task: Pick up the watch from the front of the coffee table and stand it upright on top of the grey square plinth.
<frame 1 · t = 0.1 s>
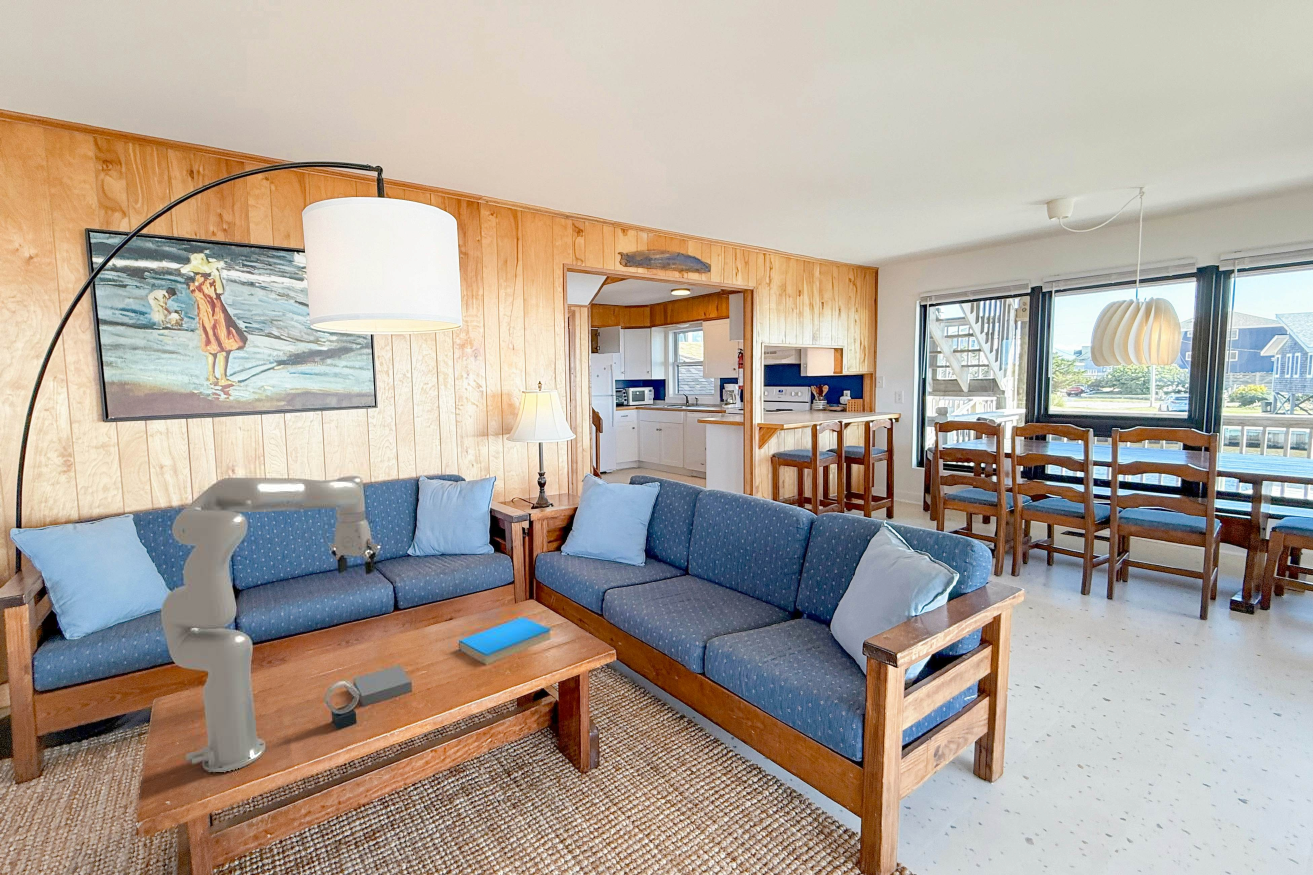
hand: (356, 572, 190), 31 cm above the table, tool pointing down, fingers open, 9 cm apart
plinth: (382, 689, 181), on the table
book: (506, 645, 209), on the table
watch: (344, 723, 164), on the table
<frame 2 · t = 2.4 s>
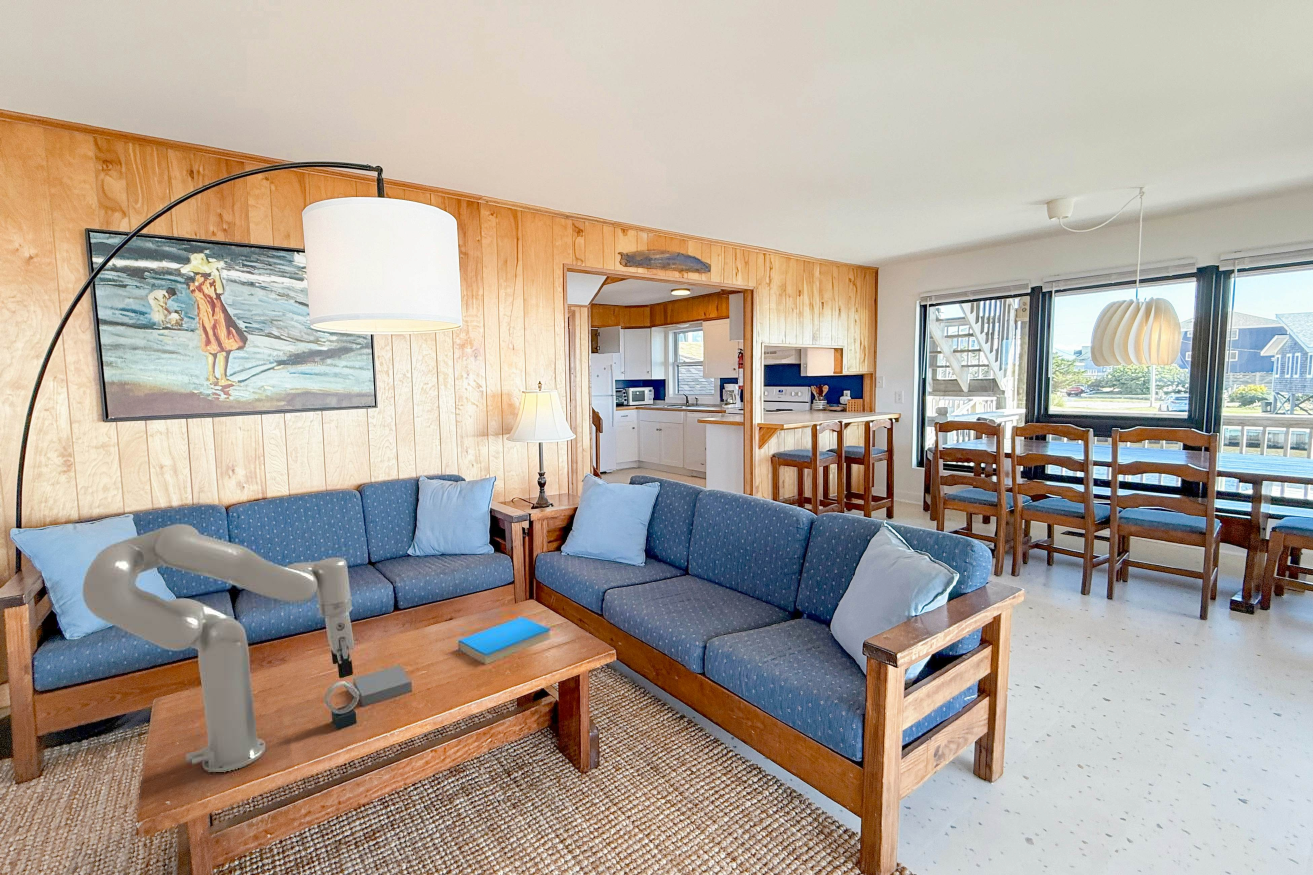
hand: (342, 669, 163), 14 cm above the table, tool pointing down, fingers open, 9 cm apart
nothing on the table moved.
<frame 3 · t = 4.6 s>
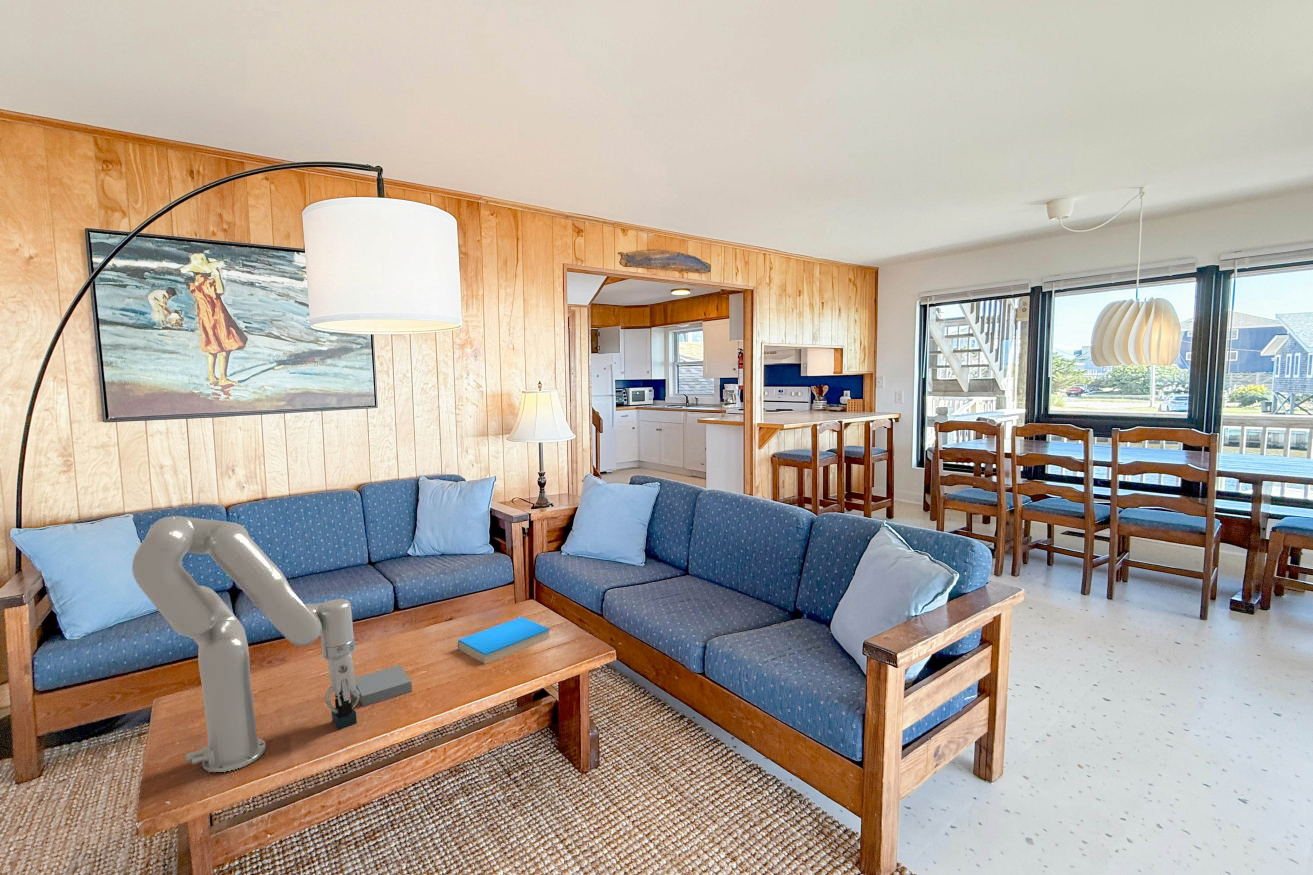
hand: (344, 714, 164), 2 cm above the table, tool pointing down, fingers closed on watch, 3 cm apart
watch: (345, 722, 164), on the table, touching gripper
everything else where it was.
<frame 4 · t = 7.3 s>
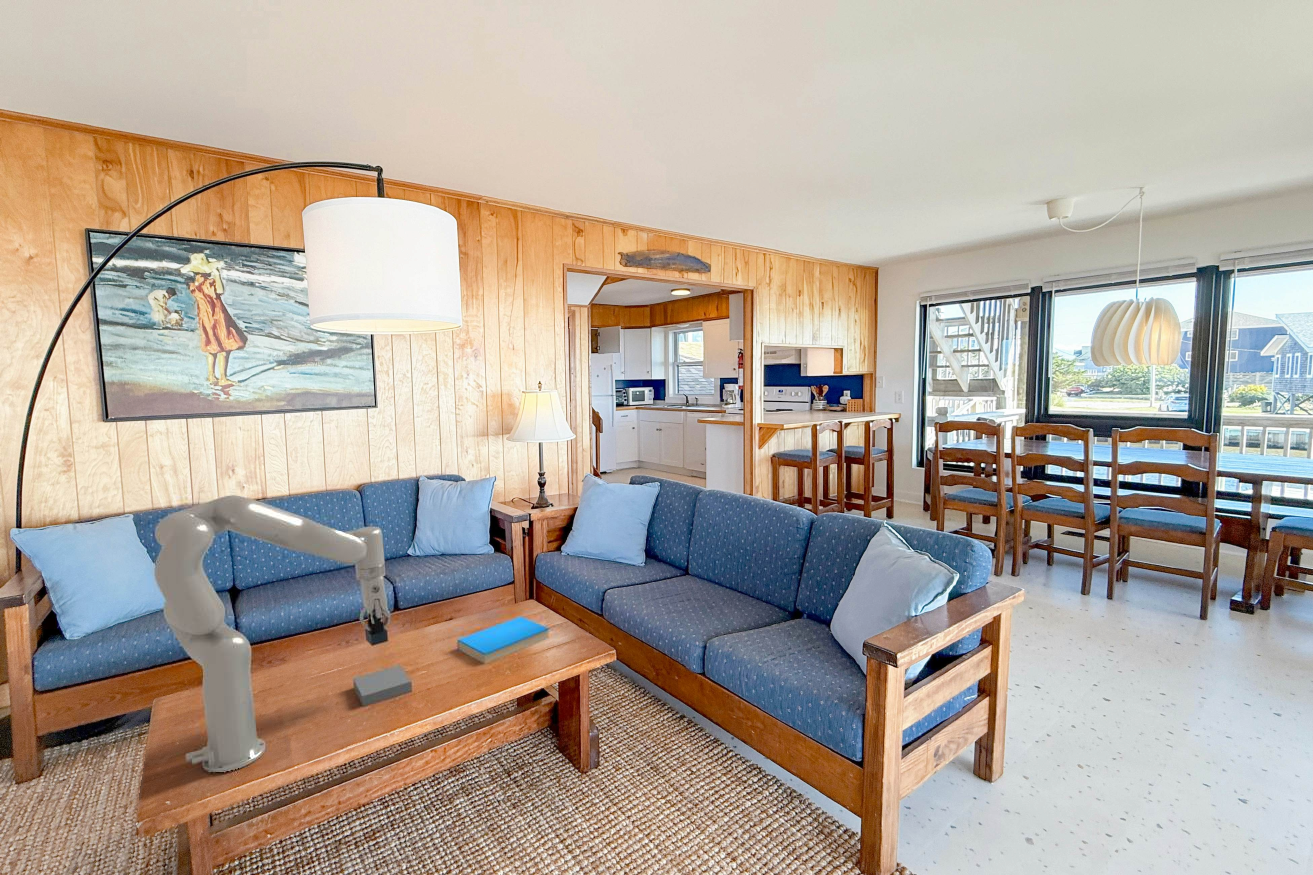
hand: (376, 632, 178), 18 cm above the table, tool pointing down, fingers closed on watch, 3 cm apart
watch: (377, 640, 178), point 15 cm above the table, touching gripper
everything else where it was.
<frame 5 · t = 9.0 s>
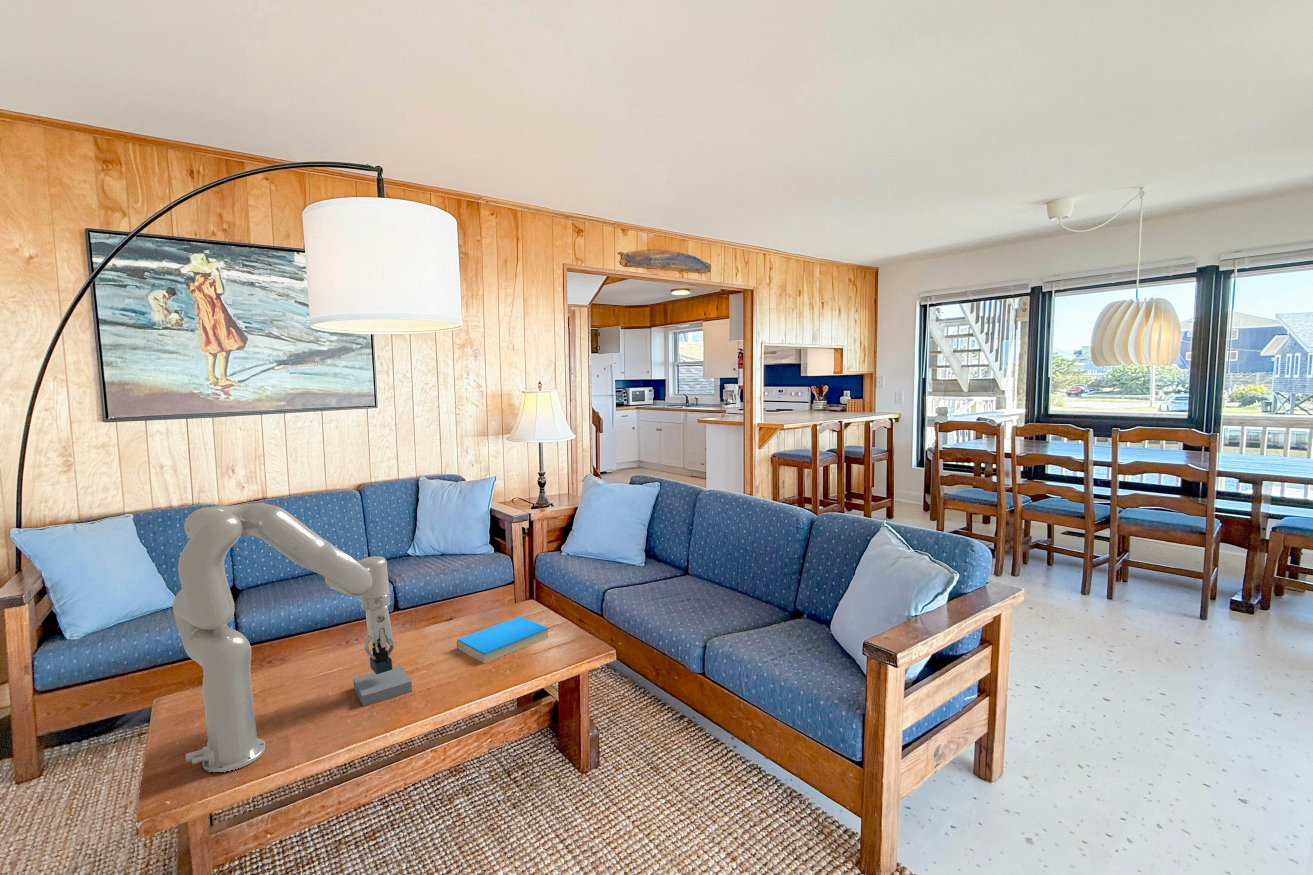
hand: (380, 661, 180), 9 cm above the table, tool pointing down, fingers closed on watch, 3 cm apart
watch: (381, 669, 180), point 6 cm above the table, touching gripper
when the fingers open (7 cm above the table, at t = 10.1 s): watch drops 1 cm, resting on plinth.
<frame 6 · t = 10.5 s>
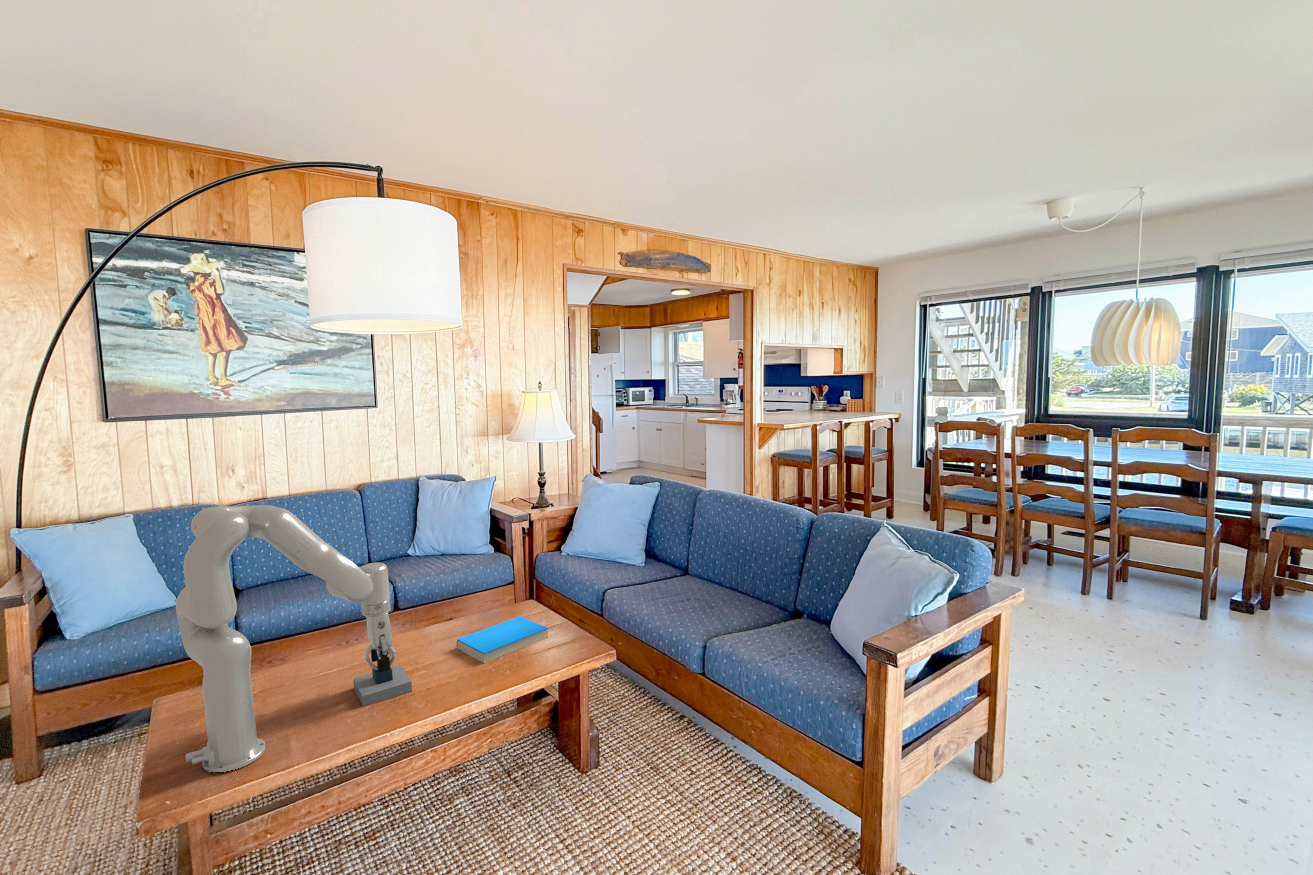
hand: (380, 665, 180), 7 cm above the table, tool pointing down, fingers open, 7 cm apart
watch: (383, 679, 181), point 3 cm above the table, touching plinth
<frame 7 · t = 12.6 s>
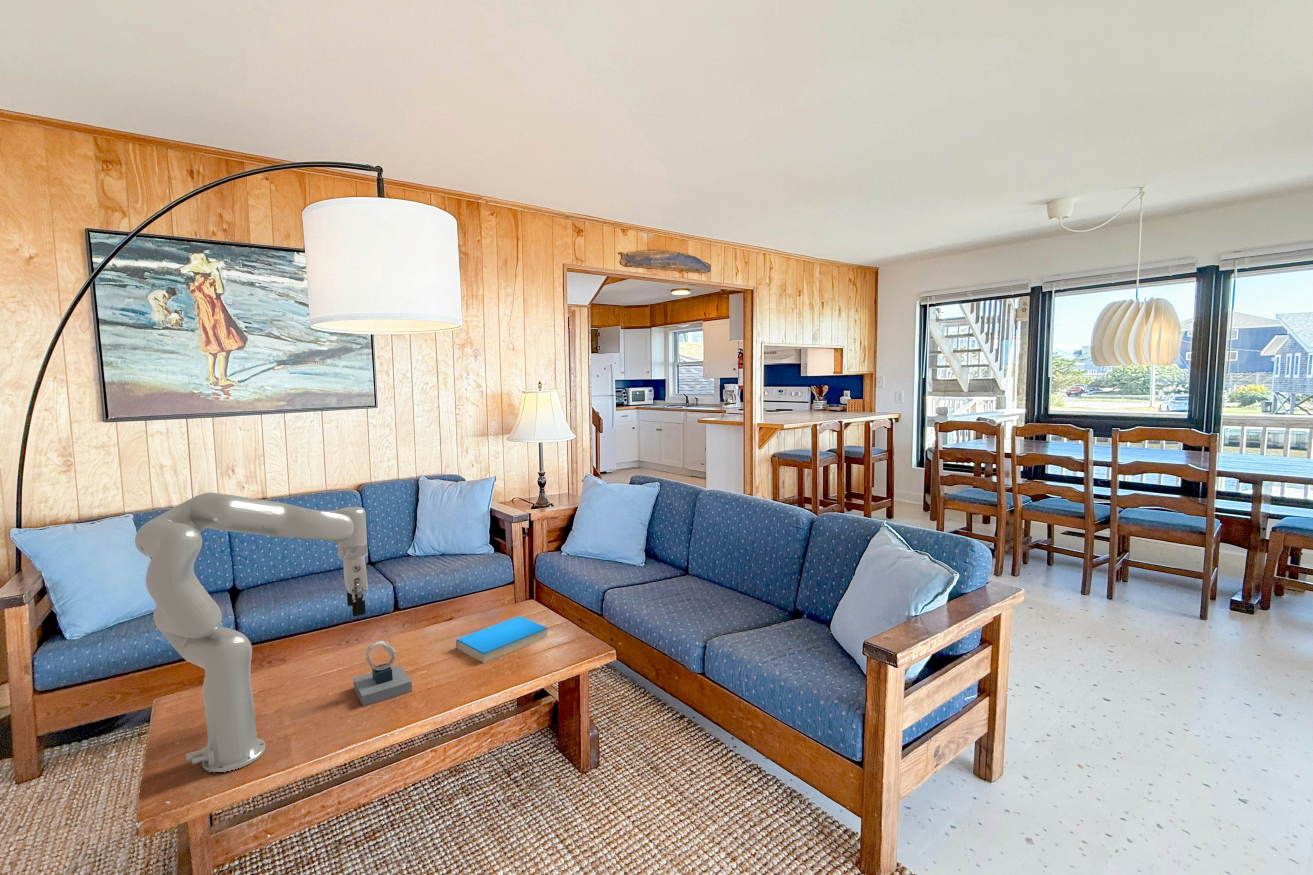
hand: (356, 609, 177), 24 cm above the table, tool pointing down, fingers open, 9 cm apart
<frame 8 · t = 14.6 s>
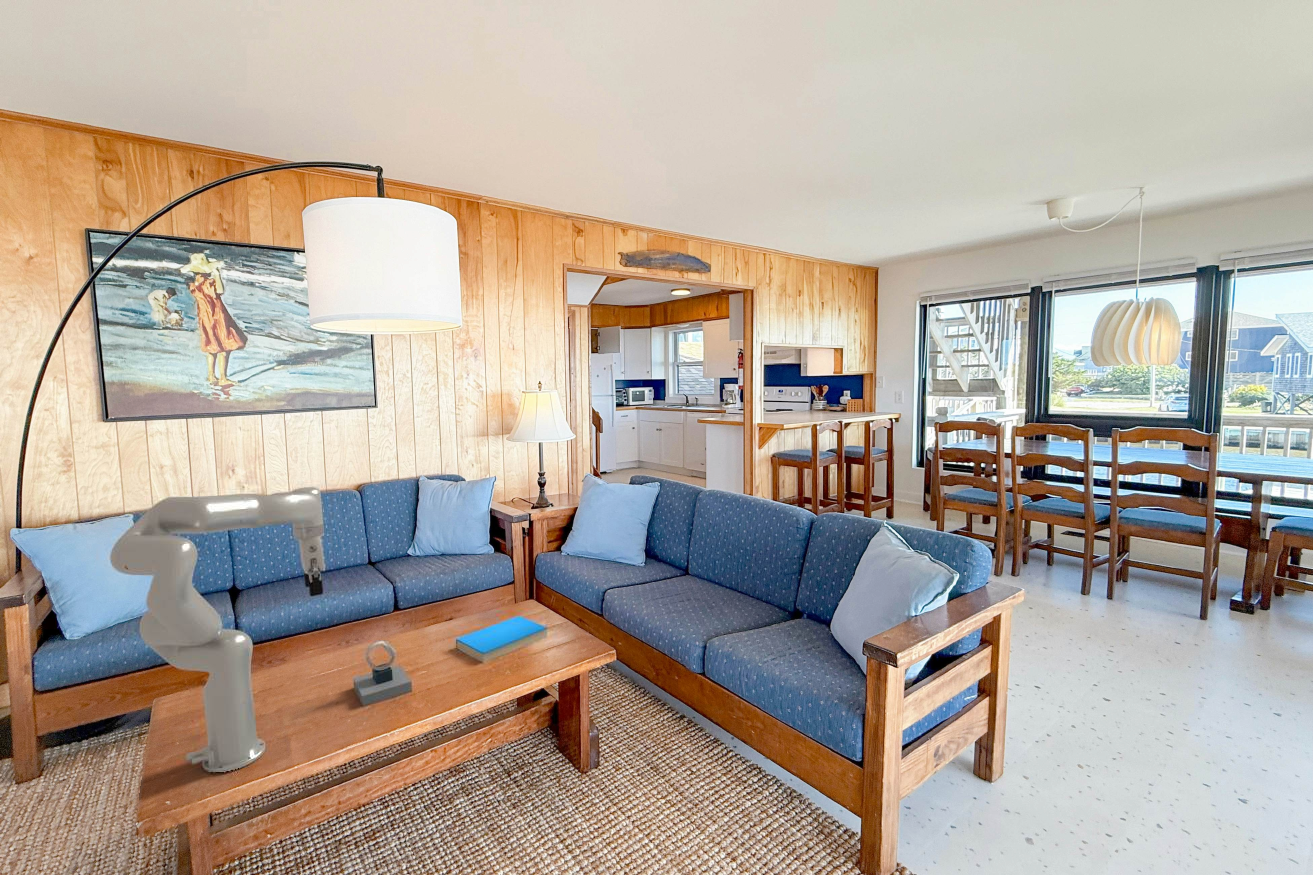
hand: (314, 590, 177), 30 cm above the table, tool pointing down, fingers open, 9 cm apart
at the end: watch inside the target area on the plinth (0.7 cm from its centre), point 2.8 cm above the plinth's base; watch tilted 0°; watch touching plinth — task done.
